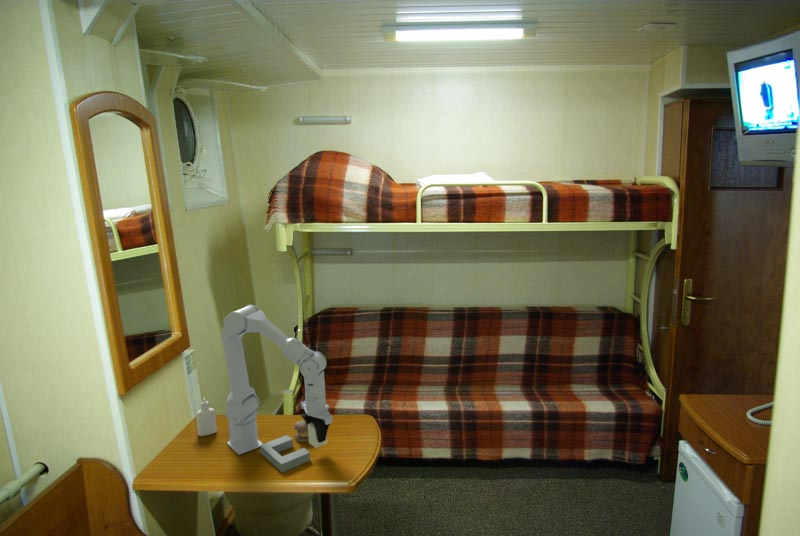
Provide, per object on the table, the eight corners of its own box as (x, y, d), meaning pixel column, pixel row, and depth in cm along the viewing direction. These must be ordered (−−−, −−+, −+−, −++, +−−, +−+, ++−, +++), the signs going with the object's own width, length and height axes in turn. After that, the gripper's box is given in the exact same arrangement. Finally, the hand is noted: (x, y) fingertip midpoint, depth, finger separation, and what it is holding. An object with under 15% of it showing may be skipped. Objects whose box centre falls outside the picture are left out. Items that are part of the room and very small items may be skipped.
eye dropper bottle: (201, 429, 162) (198, 395, 160) (218, 429, 162) (215, 395, 160) (196, 436, 158) (192, 401, 156) (213, 436, 157) (209, 401, 155)
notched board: (260, 452, 146) (259, 445, 146) (287, 442, 152) (287, 434, 152) (282, 472, 136) (281, 464, 135) (310, 460, 141) (309, 452, 141)
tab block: (308, 442, 144) (307, 423, 143) (320, 438, 147) (319, 419, 146) (315, 448, 141) (314, 428, 140) (327, 443, 144) (326, 424, 143)
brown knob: (291, 437, 155) (290, 424, 154) (308, 430, 159) (307, 418, 158) (301, 444, 151) (300, 430, 150) (317, 437, 154) (317, 424, 154)
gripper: (340, 398, 139) (342, 442, 141) (314, 384, 149) (316, 425, 152) (319, 406, 134) (321, 451, 136) (293, 390, 145) (296, 432, 147)
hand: (317, 438), depth 144 cm, fingers closed on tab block, 4 cm apart
